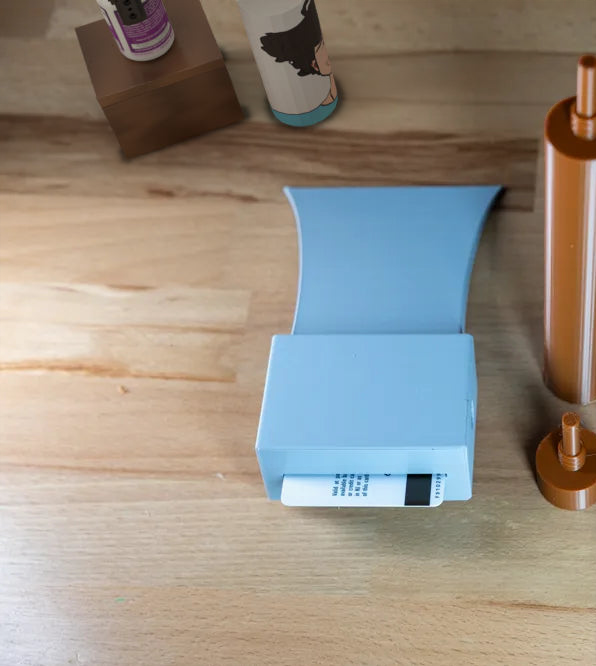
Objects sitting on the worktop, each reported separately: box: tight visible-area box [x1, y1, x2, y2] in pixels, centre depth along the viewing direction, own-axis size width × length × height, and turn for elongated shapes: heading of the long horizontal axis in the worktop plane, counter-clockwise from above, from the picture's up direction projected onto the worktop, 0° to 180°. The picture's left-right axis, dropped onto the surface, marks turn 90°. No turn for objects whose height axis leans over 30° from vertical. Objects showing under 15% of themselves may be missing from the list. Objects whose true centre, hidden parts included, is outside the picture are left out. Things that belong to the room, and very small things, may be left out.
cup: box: [235, 0, 339, 127], centre depth 111 cm, size 7×7×15 cm
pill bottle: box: [95, 0, 174, 61], centre depth 107 cm, size 5×5×10 cm
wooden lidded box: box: [74, 0, 246, 160], centre depth 115 cm, size 12×10×9 cm
